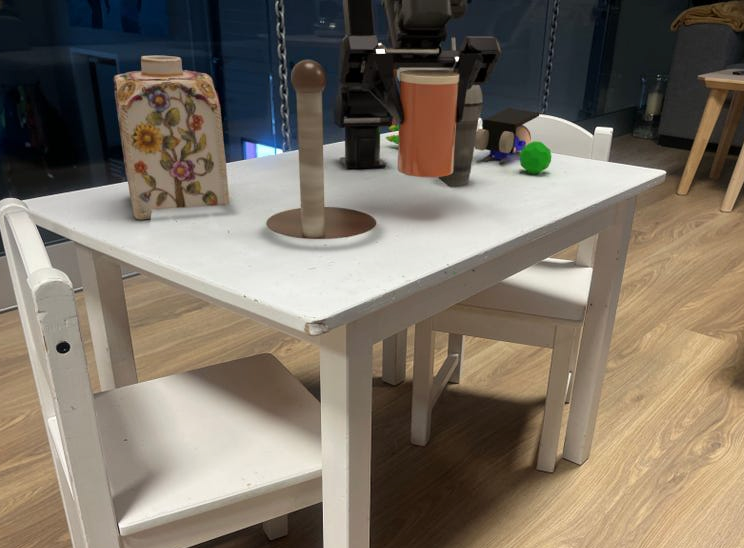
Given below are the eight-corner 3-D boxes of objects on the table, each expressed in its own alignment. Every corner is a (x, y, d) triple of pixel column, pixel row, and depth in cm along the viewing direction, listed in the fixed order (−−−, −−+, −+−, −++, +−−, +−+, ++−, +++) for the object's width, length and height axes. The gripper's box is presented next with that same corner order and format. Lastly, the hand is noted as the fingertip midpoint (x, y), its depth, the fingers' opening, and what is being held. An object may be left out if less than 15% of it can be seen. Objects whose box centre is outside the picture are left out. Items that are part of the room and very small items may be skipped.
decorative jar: (129, 196, 97) (107, 52, 89) (216, 191, 101) (204, 52, 93) (134, 221, 88) (110, 62, 79) (231, 214, 91) (218, 61, 83)
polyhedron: (515, 169, 118) (518, 139, 116) (544, 169, 119) (548, 139, 116) (522, 176, 114) (525, 145, 112) (552, 176, 114) (556, 145, 112)
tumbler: (386, 167, 88) (388, 71, 83) (431, 162, 91) (435, 68, 86) (418, 180, 83) (422, 78, 78) (465, 173, 86) (471, 75, 81)
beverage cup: (474, 190, 105) (485, 40, 96) (425, 186, 107) (431, 38, 97) (479, 178, 112) (490, 37, 102) (433, 175, 113) (439, 35, 104)
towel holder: (280, 213, 92) (272, 48, 83) (382, 218, 91) (384, 52, 82) (253, 246, 80) (239, 59, 72) (368, 252, 80) (369, 63, 71)
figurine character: (507, 175, 120) (538, 150, 131) (510, 129, 116) (541, 107, 127) (470, 170, 123) (503, 145, 134) (471, 125, 119) (505, 103, 130)
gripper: (340, -47, 78) (361, 75, 73) (503, -41, 82) (531, 74, 78) (330, 28, 88) (347, 139, 84) (474, 30, 92) (498, 135, 88)
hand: (430, 121), depth 83 cm, fingers closed on tumbler, 7 cm apart
